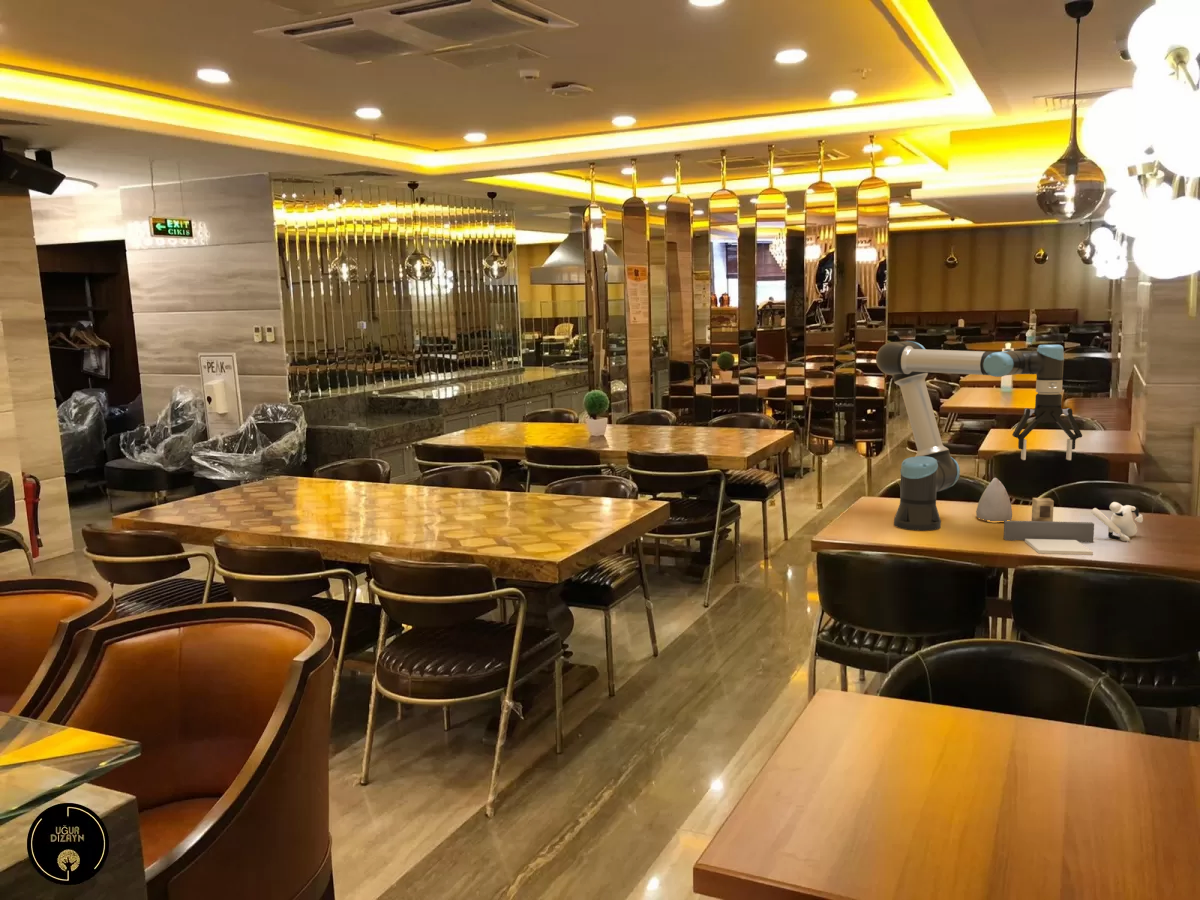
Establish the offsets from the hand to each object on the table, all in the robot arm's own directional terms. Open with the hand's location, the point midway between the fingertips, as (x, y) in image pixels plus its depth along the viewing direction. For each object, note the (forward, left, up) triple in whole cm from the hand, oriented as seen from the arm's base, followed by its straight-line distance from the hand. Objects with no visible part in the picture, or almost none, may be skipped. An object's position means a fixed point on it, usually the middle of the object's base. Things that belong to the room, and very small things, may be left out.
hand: (1045, 459), depth 292 cm
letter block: (0, 0, -25) cm, 25 cm away
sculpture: (-9, +24, -25) cm, 36 cm away
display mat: (0, -17, -25) cm, 30 cm away
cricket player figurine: (+23, -2, -25) cm, 34 cm away
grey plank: (0, -7, -25) cm, 26 cm away
